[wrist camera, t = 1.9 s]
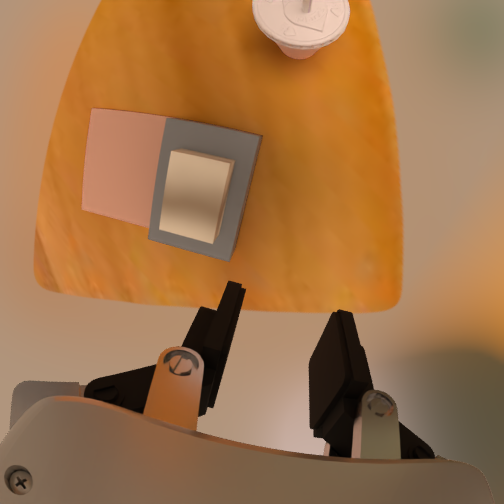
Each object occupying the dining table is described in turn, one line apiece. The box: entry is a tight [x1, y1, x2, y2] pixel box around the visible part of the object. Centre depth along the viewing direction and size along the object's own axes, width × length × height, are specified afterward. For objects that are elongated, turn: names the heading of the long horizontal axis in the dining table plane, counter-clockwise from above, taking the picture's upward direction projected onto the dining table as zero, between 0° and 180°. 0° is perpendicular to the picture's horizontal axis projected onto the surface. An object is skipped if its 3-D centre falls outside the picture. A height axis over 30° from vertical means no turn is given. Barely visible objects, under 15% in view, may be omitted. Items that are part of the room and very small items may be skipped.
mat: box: [82, 108, 173, 228], centre depth 30 cm, size 12×10×1 cm
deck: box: [148, 118, 263, 262], centre depth 28 cm, size 12×8×3 cm
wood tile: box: [159, 148, 236, 244], centre depth 26 cm, size 7×5×2 cm
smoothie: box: [252, 0, 350, 59], centre depth 17 cm, size 6×6×14 cm
